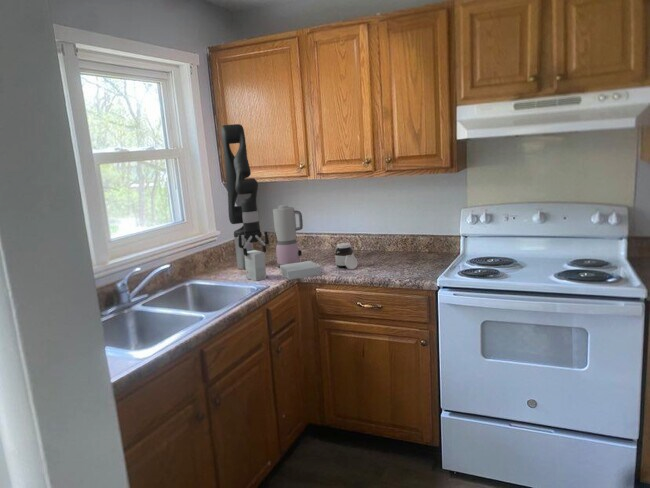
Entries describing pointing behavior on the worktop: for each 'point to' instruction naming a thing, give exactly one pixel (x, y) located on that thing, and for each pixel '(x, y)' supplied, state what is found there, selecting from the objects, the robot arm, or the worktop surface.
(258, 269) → the small box
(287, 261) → the blender
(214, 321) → the worktop surface
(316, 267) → the block
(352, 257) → the spread jar
